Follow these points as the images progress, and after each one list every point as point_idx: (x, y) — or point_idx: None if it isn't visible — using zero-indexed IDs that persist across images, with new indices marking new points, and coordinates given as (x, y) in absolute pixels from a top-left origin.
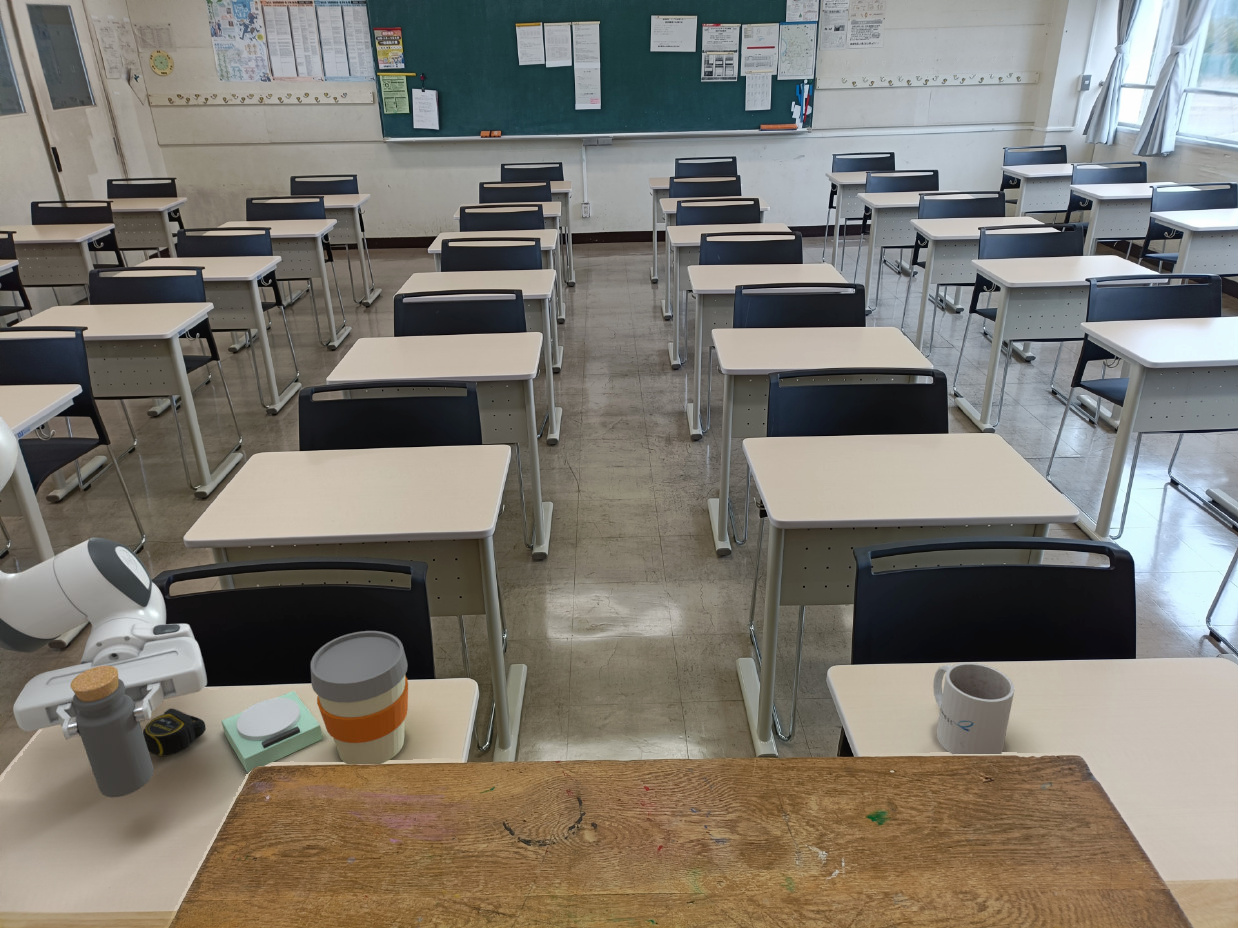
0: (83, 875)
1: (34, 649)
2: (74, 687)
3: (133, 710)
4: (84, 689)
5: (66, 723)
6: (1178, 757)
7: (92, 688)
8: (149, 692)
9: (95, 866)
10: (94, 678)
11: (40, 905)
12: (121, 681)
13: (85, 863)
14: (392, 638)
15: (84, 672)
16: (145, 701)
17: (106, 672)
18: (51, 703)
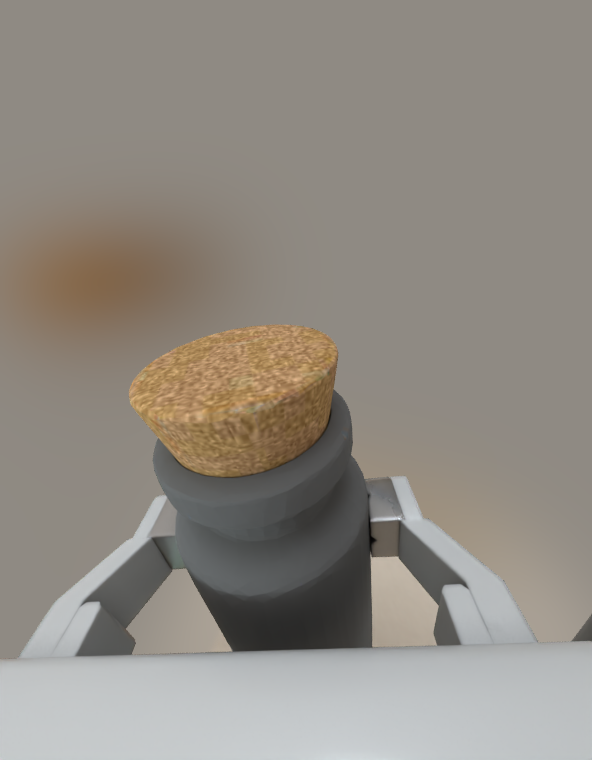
0: (397, 600)
1: None
2: (310, 330)
3: None
4: (273, 327)
5: (400, 490)
6: None
7: (247, 327)
8: (104, 581)
9: (385, 615)
10: (236, 354)
11: None
12: (158, 448)
13: (406, 632)
14: None
15: (281, 382)
16: (145, 527)
17: (180, 373)
18: (587, 644)
